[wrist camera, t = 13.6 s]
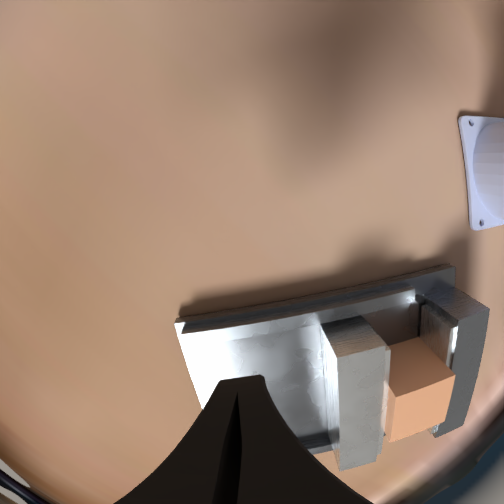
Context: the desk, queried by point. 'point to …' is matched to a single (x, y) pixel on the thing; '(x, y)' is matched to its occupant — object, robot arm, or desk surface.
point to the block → (416, 389)
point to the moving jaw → (355, 389)
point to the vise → (310, 348)
